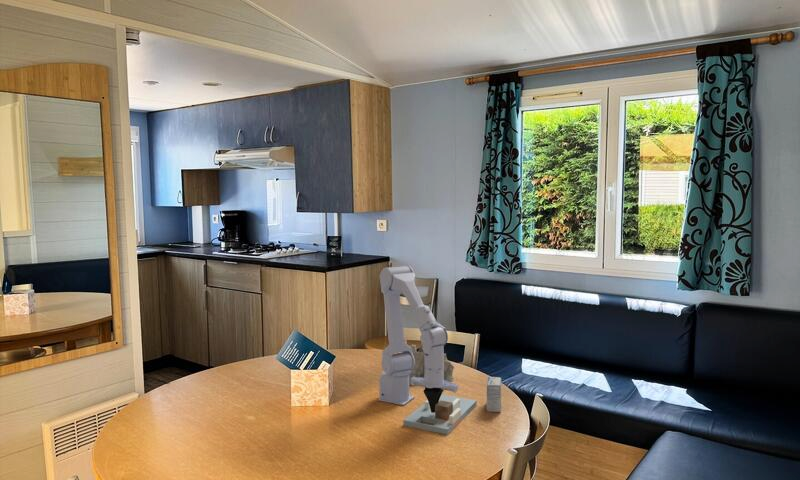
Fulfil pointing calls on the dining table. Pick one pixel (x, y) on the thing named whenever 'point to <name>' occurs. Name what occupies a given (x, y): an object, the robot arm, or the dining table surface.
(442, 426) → the deck
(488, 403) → the medicine box
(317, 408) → the dining table surface
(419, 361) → the ceramic cottage
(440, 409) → the block
